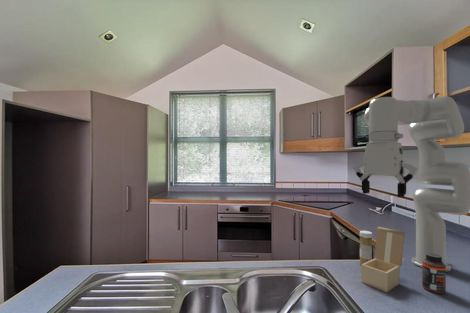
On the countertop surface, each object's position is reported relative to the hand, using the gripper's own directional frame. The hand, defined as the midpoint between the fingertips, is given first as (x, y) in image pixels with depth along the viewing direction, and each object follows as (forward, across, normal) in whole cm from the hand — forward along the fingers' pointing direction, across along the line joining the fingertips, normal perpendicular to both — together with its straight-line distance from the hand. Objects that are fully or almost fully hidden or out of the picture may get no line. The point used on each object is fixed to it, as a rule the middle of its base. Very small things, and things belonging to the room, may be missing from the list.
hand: (382, 195), depth 73 cm
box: (+31, +5, -11) cm, 33 cm away
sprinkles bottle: (+31, +15, -22) cm, 41 cm away
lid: (+20, +5, -17) cm, 26 cm away
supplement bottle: (+31, -7, -21) cm, 38 cm away
